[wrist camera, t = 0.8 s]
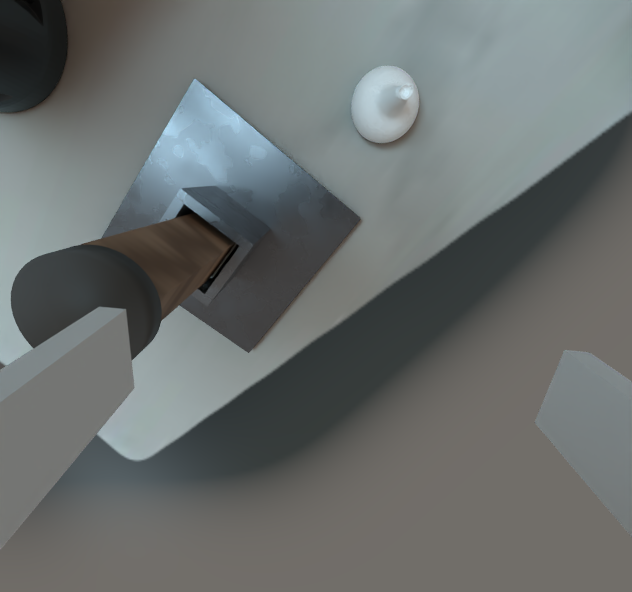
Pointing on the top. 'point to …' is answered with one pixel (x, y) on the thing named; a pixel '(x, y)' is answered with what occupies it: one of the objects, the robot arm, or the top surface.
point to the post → (120, 278)
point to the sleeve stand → (237, 213)
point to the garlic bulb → (384, 104)
